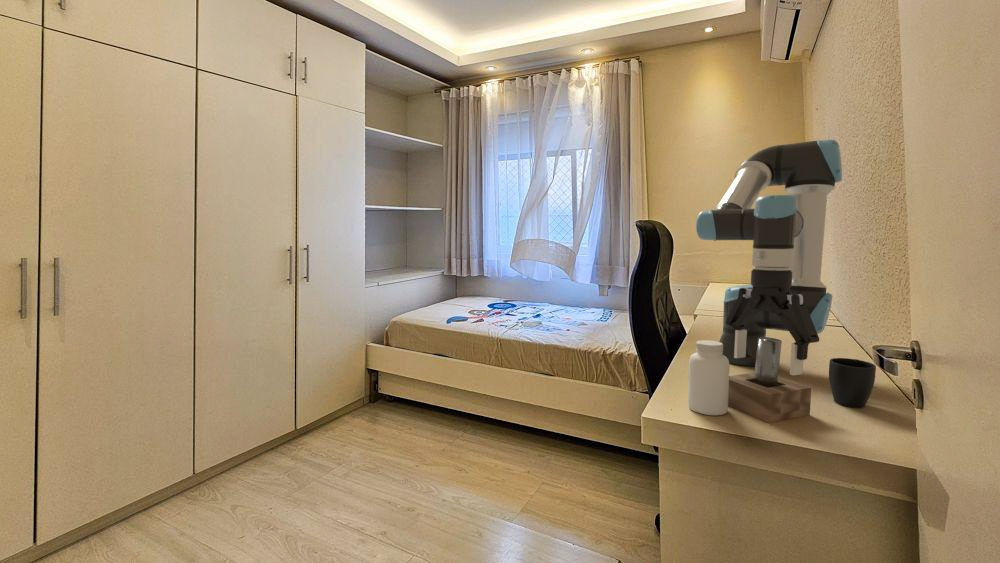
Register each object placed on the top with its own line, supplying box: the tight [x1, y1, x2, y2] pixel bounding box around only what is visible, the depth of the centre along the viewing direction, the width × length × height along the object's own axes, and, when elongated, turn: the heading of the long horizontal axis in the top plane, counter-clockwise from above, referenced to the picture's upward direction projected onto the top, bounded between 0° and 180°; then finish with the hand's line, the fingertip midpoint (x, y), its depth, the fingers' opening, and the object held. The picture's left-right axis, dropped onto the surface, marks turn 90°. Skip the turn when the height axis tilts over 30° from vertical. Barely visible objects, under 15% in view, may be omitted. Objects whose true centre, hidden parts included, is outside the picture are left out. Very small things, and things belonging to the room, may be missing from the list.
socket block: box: [728, 371, 812, 424], centre depth 97 cm, size 12×12×6 cm
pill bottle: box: [687, 339, 730, 416], centre depth 97 cm, size 8×8×15 cm
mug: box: [828, 357, 877, 409], centre depth 101 cm, size 8×12×10 cm
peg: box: [754, 336, 782, 388], centre depth 97 cm, size 4×4×14 cm
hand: (766, 365), depth 97 cm, fingers open, 13 cm apart
